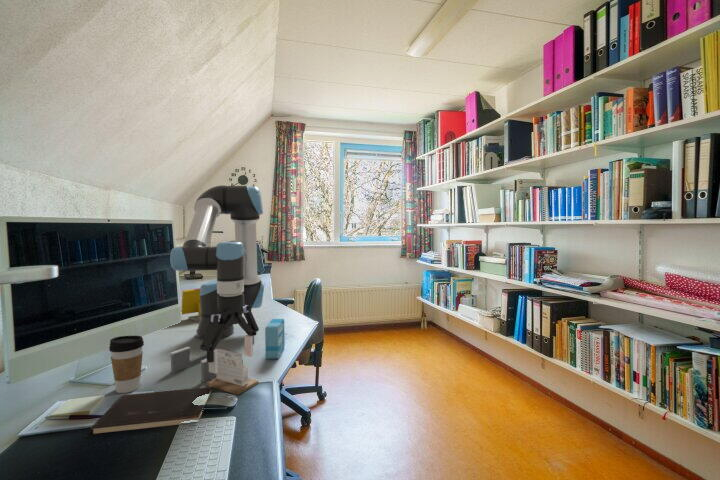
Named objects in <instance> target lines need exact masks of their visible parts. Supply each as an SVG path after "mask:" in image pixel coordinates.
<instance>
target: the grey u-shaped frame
mask: <svg viewBox="0 0 720 480" xmlns="http://www.w3.org/2000/svg"><path fill="white" fill-rule="evenodd" d="M169 354H170V373H173V374H175V373H176V372H179V371H182V370H184V369H186V368H189V367H191V366H194V365H196V364H199V363H201V367H200V368H201V369H200V371H201V372H200V373H201V382H202V383H206V382H208V381H210V380H212V379H215V378H217V373H216V374H215V373H211V372H209V362H207V353H204V354H203V355H200V356H197V357H193V358H192V359H191V347H190V346H186V347H184V348H180V349H177V350H175V351H172V352H170V353H169ZM226 356H227V357H231V358H233V356H228V355H226ZM243 364H244V361H243V359H242V365H243Z"/></svg>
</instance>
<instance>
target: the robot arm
mask: <svg viewBox="0 0 720 480" xmlns="http://www.w3.org/2000/svg"><path fill="white" fill-rule="evenodd" d="M193 206H194V207H193V208H194V215H193V217H192V220H191V222H190V226H189V228H188V231H187V234H186V236H185V239H184V242H183V244H182V246H174V247H173V248H172V249H171V251H170V256H169V262H170V266H171V269H172V270H174V271H179V272H180V271H182V272H184V271H185V272H192V271H216V280H212V281H211V280H210V281H208V282H207V281H206V282H205V283H203V284H201V285H200V287H199V288H200V313H201V318H200V321H199V322H198V326H197V328H196V337H197V338H198V339H201V344H200V346H199V350H200V351H204V352H206V354H207V362H209V372H211V373H215V374H216V373H218V361H217V350H216V348H217V346H218V344H219V342H220V341H221V339H223V338H226V337H230V336H232V335H233V334H234V333H235V331H234V330H235V329H234V328H235V327H234V325H237V324H238V326H239V327H240V328H241V329H242V330H243V331H244V332H245V333H246V334H245V335H244V356H246V357H250V358H252V357H254V351H253V350H254V349H253V348H254V347H253V346H254V343H255V336H256V335H257V333H258V332H259V330H260V328H259V326H258V324H257V322H256V319H255V317H254V314H253V312H252V309H259V308H261V307H262V305H263V300H264V299H263V298H264V290H265V281H262V277H261V276H259V275H258V251H257V250H258V248H257V222H258V221H259V220H260V216H261V215H263V214H264V208H263V201H262V195H261V190H260V189H259V188H258V187H257V186H251V185H222V184H221V185H216V186H213V187H211V188H209V189H207V190H205V191H204V192H202V193H201V194H200V195H199V196H198V198H197V199H196V201H195V203H194V205H193ZM220 215H230V221H232V222H233V223H234V239H235V240H234V241H220V242H218V243H217V245H216V246H209V245H210V242H211V238H212V235H213V231H214V227H215V224H216V219H217V218H218V217H219V216H220Z"/></svg>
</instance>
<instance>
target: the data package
mask: <svg viewBox="0 0 720 480" xmlns="http://www.w3.org/2000/svg"><path fill="white" fill-rule="evenodd" d="M264 330H265V331H264V335H265V341H264V343H265V344H264V346H265V349H264V351H265V359H266V360H279V359H280V357H281V355H282V354H283V352H284V350H285V346H286V345H285V344H286V343H285V341H286V340H285V319H284V318H271V320H270V321H269V322H268V323H267V324H266V326H265V328H264Z"/></svg>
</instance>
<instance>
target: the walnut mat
mask: <svg viewBox="0 0 720 480" xmlns="http://www.w3.org/2000/svg"><path fill="white" fill-rule="evenodd" d="M205 384H206V386H208V387H212V388H215V389H217V390H221V391H224V392H227V393H230V394H233V395H240V394H242V393H243V392H246V391H247V390H249V389H251V388H252V387H255V386H256V385H258V384H259V380H256V379H252V378H249V377H248V384H246V385H245V386H239V385H236V384H232V383H229V382H225V381H222V380H219V379H217V377H214V378H212V379H210V380H208V381H206V382H205Z"/></svg>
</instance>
